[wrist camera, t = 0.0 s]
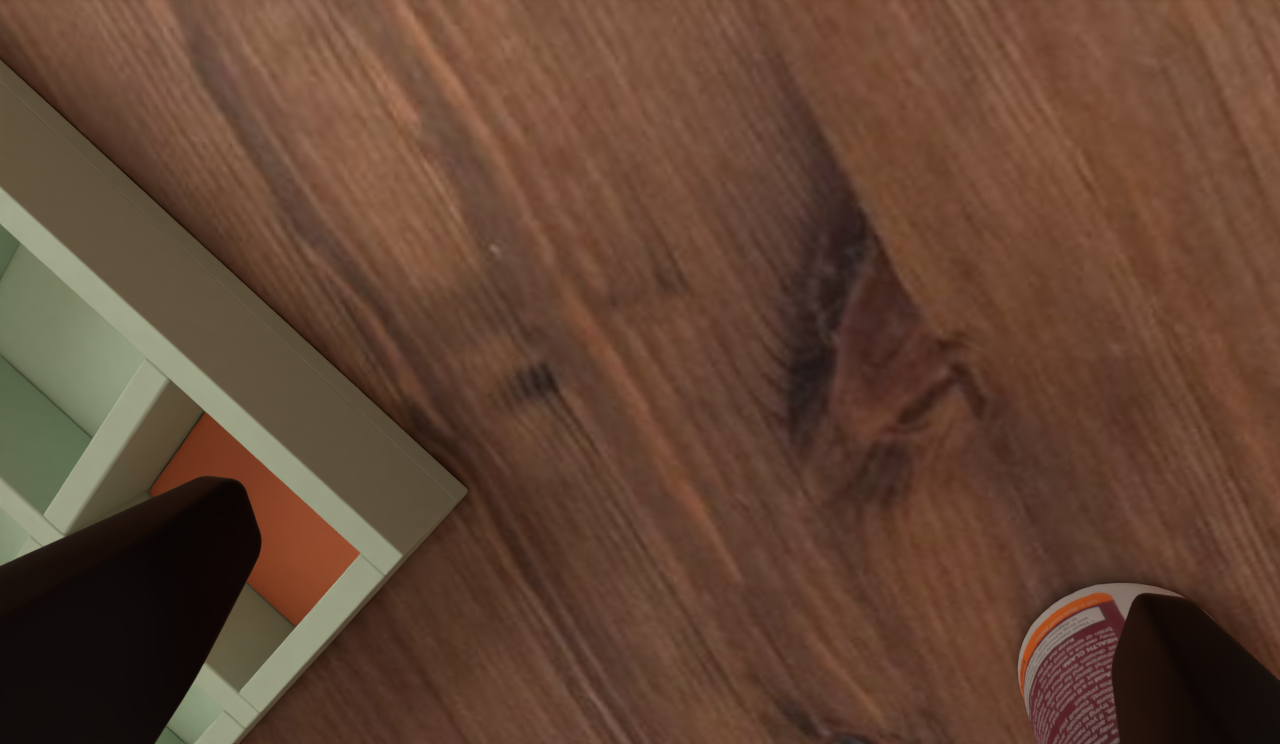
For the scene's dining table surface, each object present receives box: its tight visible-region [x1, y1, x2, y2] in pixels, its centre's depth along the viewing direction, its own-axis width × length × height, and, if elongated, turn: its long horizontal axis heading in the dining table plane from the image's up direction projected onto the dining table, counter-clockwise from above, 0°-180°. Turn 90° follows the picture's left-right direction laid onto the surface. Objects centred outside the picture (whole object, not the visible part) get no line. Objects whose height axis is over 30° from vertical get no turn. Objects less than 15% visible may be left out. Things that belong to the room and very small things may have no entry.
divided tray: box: [0, 60, 468, 744], centre depth 24 cm, size 14×21×4 cm
